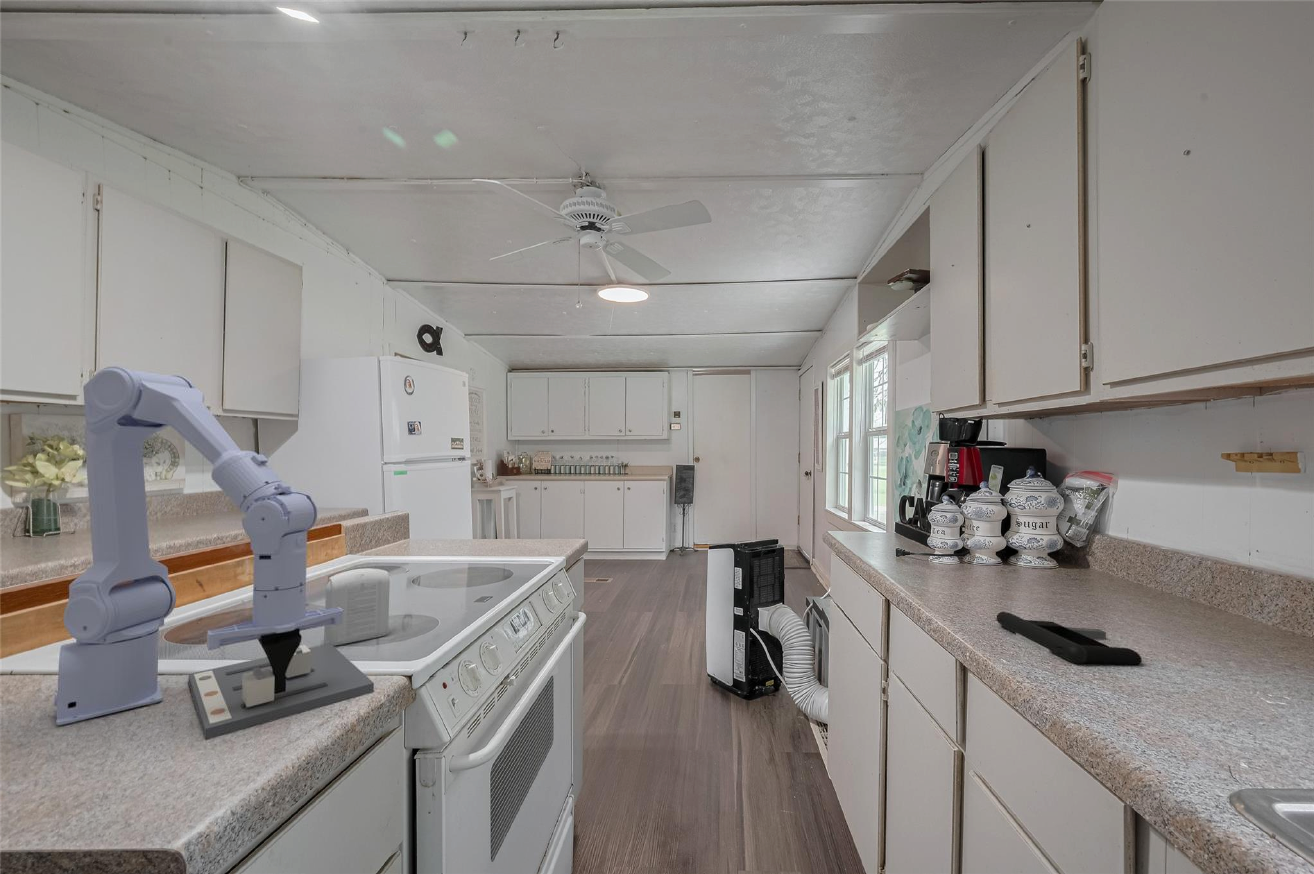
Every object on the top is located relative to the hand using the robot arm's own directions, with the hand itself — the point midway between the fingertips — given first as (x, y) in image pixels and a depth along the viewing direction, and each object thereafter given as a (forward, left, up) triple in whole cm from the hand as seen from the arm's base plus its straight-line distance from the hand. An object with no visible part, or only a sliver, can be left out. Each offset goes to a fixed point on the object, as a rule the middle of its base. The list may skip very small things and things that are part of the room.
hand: (278, 690), depth 71 cm
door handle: (+103, -68, -3) cm, 124 cm away
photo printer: (+15, +21, -2) cm, 26 cm away
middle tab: (+3, +7, 0) cm, 8 cm away
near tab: (-2, 0, 0) cm, 2 cm away
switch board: (+1, +7, -2) cm, 7 cm away
